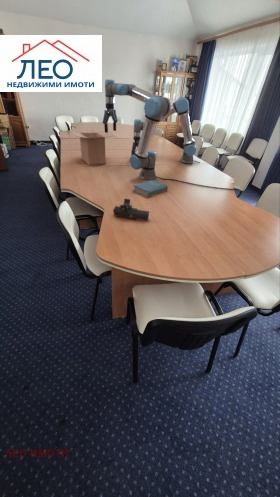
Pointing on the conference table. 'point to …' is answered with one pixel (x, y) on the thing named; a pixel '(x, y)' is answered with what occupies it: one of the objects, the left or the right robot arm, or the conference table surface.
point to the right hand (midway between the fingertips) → (136, 157)
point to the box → (92, 146)
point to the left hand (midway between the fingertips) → (110, 131)
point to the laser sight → (130, 211)
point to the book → (150, 188)
